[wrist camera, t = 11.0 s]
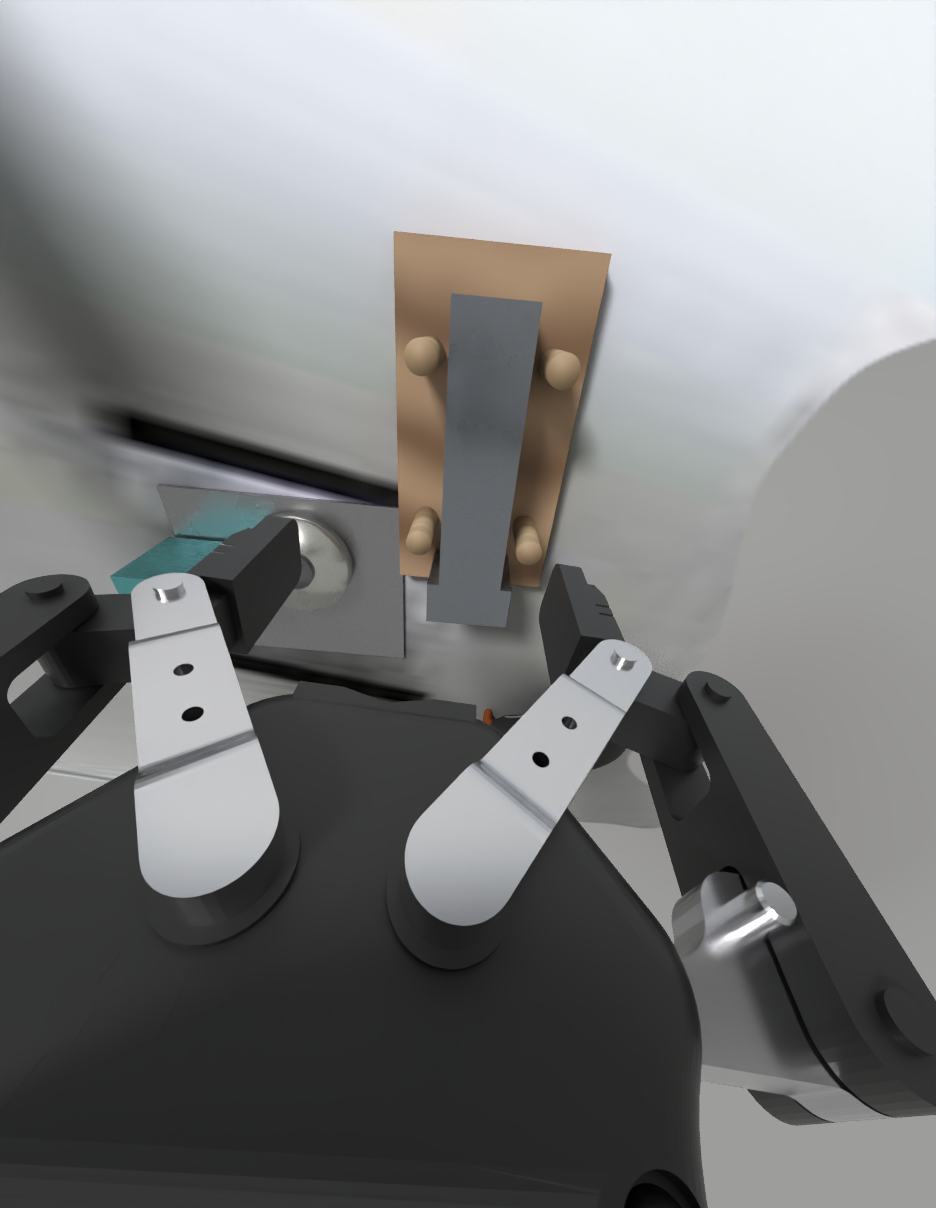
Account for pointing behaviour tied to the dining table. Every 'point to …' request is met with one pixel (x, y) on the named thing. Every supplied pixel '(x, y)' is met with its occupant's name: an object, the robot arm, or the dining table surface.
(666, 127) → the dining table surface
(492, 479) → the bar
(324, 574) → the teal handled round piece
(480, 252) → the peg rack
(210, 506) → the gray base plate
